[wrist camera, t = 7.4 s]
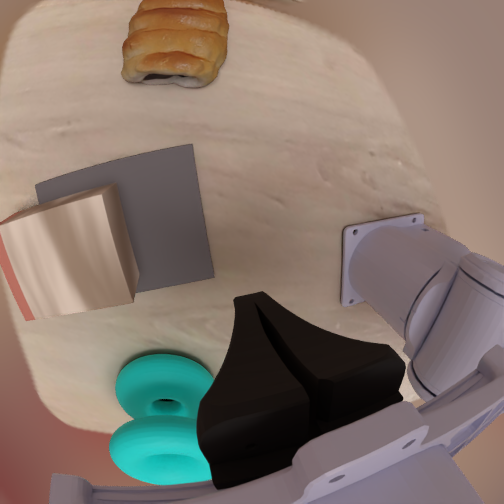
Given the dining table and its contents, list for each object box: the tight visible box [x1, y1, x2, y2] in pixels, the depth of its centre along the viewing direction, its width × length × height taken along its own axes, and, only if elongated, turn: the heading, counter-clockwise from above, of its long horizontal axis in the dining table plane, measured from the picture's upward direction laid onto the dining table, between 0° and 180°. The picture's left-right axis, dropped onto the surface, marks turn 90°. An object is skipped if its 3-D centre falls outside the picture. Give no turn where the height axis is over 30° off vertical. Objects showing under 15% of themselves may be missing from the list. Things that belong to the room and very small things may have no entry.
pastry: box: [121, 0, 229, 88], centre depth 13 cm, size 9×7×4 cm
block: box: [0, 183, 140, 321], centre depth 17 cm, size 4×7×9 cm
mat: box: [35, 144, 215, 293], centre depth 19 cm, size 12×10×1 cm
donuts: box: [109, 354, 214, 485], centre depth 22 cm, size 10×10×10 cm
